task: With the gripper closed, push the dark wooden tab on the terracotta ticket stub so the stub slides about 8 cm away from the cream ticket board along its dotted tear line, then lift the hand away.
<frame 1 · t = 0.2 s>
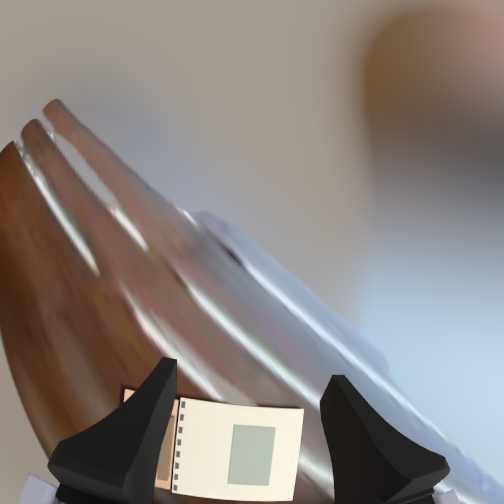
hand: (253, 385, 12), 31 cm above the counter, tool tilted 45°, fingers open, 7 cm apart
ticket board: (237, 454, 35), on the counter
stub: (145, 442, 32), point 2 cm above the counter, slide at 0.0 cm
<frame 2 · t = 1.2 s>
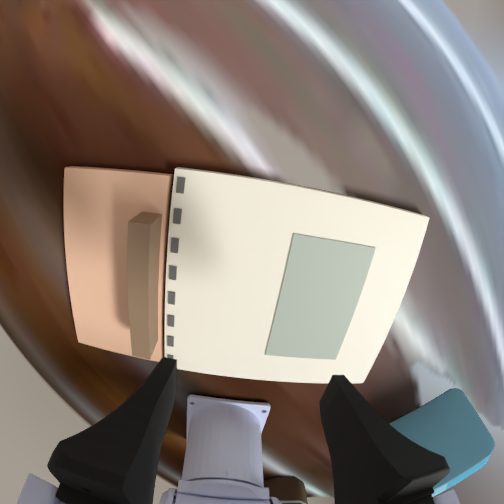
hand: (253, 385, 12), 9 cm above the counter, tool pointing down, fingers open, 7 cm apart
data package: (419, 413, 29), on the counter
beer bottle: (278, 483, 34), on the counter
ticket board: (290, 295, 21), on the counter
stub: (106, 279, 19), point 2 cm above the counter, slide at 0.0 cm
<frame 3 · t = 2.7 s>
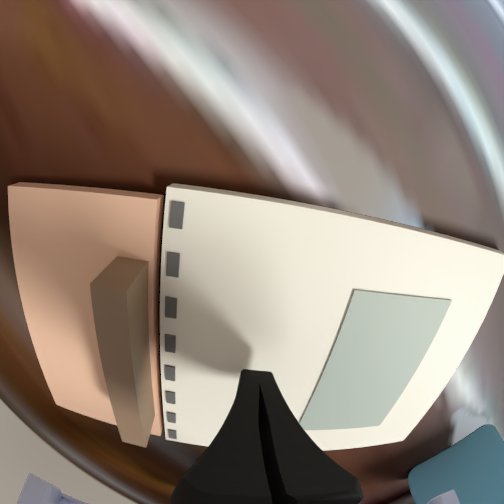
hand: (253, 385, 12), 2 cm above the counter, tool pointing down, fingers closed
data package: (448, 451, 22), on the counter
ticket board: (334, 362, 15), on the counter
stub: (76, 347, 12), point 2 cm above the counter, slide at 0.0 cm
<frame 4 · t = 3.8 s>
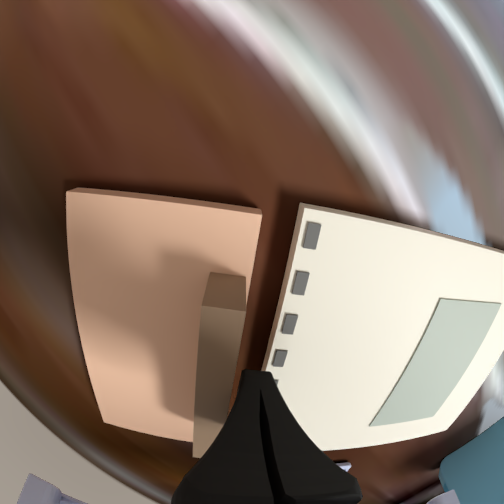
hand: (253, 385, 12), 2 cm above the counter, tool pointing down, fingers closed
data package: (473, 441, 22), on the counter
ticket board: (408, 362, 15), on the counter
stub: (148, 367, 12), point 2 cm above the counter, slide at 1.2 cm, touching gripper
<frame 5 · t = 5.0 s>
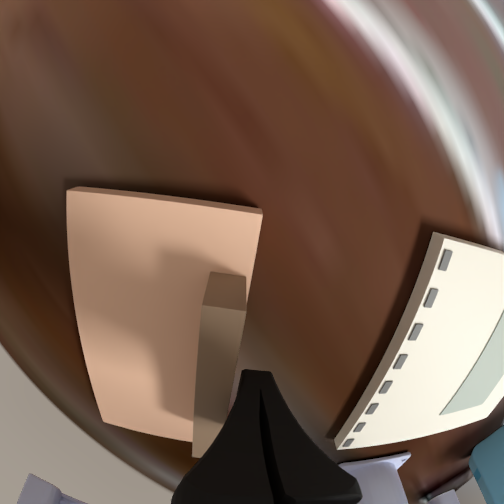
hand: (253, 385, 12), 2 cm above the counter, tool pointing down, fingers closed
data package: (498, 430, 23), on the counter
ticket board: (474, 357, 15), on the counter
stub: (148, 366, 12), point 2 cm above the counter, slide at 8.0 cm, touching gripper
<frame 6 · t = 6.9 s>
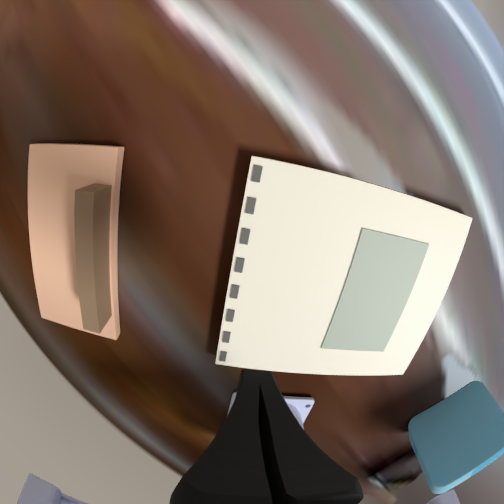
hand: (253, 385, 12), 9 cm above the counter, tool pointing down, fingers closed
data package: (442, 405, 29), on the counter
ticket board: (349, 289, 21), on the counter
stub: (61, 251, 18), point 2 cm above the counter, slide at 8.1 cm
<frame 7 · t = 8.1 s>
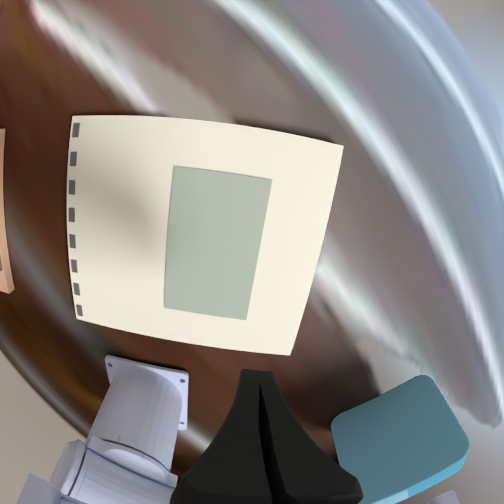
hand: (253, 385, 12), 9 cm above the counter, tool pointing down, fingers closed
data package: (381, 403, 27), on the counter
ticket board: (185, 239, 20), on the counter
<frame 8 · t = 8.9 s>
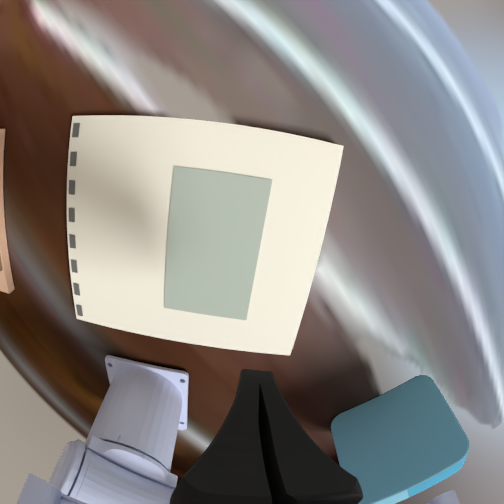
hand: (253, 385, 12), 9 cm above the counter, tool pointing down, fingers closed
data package: (381, 403, 27), on the counter
ticket board: (185, 239, 20), on the counter
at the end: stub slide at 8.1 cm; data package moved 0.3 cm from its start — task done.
